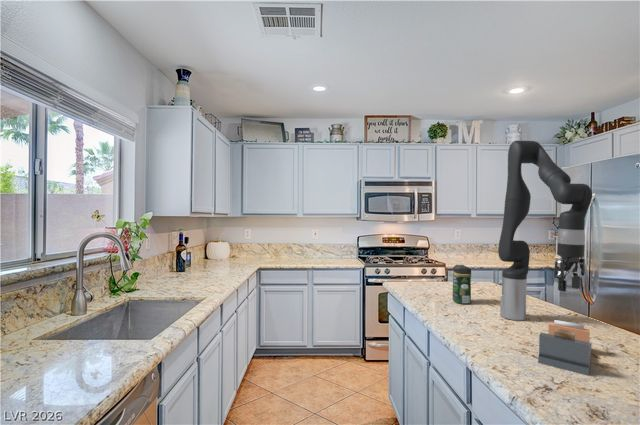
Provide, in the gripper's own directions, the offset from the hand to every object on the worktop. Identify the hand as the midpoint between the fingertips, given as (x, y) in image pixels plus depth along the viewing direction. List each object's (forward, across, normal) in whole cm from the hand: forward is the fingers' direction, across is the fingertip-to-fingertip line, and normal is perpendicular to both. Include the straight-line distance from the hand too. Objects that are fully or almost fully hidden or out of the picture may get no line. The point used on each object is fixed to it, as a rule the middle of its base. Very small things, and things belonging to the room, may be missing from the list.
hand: (569, 289), depth 117 cm
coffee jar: (+21, +13, +54) cm, 60 cm away
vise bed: (+19, -10, -4) cm, 22 cm away
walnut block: (+17, -14, -6) cm, 23 cm away
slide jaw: (+17, -2, -1) cm, 17 cm away
